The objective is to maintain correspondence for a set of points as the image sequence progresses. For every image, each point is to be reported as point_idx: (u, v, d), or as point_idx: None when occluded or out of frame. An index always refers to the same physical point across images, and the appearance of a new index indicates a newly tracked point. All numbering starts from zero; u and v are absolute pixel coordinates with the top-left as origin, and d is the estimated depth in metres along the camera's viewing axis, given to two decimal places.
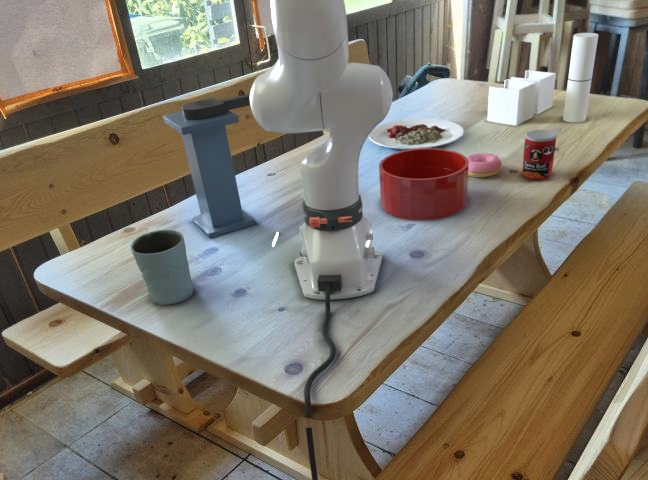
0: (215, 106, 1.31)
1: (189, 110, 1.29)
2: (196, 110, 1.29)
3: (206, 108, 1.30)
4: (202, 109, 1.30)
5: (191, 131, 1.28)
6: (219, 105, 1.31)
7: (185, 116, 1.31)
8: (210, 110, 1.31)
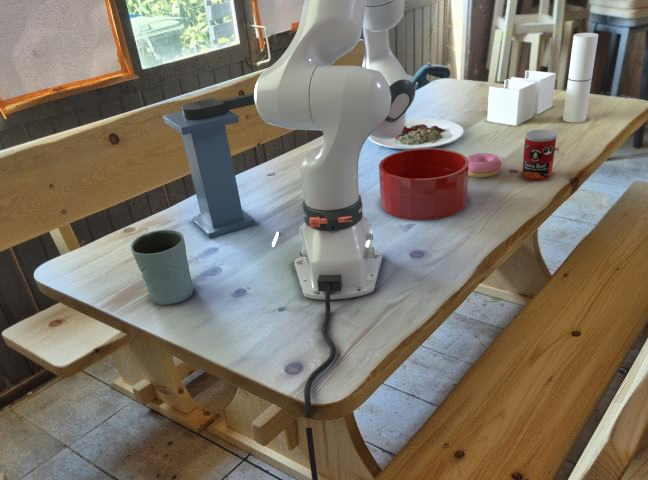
0: (215, 106, 1.31)
1: (189, 110, 1.29)
2: (196, 110, 1.29)
3: (206, 108, 1.30)
4: (202, 109, 1.30)
5: (191, 131, 1.28)
6: (219, 105, 1.31)
7: (185, 116, 1.31)
8: (210, 110, 1.31)
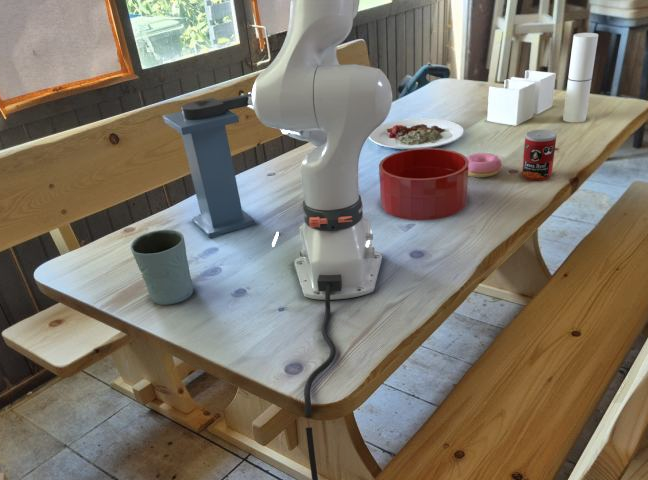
0: (215, 106, 1.31)
1: (189, 110, 1.30)
2: (196, 110, 1.29)
3: (206, 108, 1.30)
4: (202, 109, 1.30)
5: (191, 131, 1.28)
6: (219, 105, 1.31)
7: (185, 116, 1.31)
8: (209, 110, 1.31)
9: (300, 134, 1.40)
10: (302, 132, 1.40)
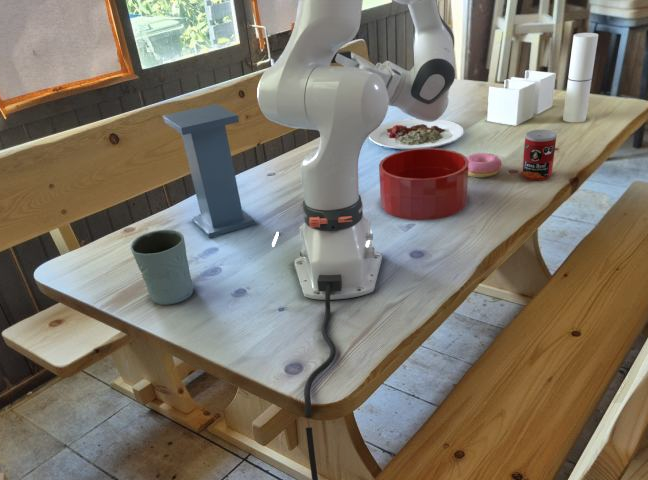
0: None
1: (275, 60, 1.34)
2: None
3: None
4: None
5: (191, 131, 1.28)
6: None
7: None
8: None
9: None
10: None
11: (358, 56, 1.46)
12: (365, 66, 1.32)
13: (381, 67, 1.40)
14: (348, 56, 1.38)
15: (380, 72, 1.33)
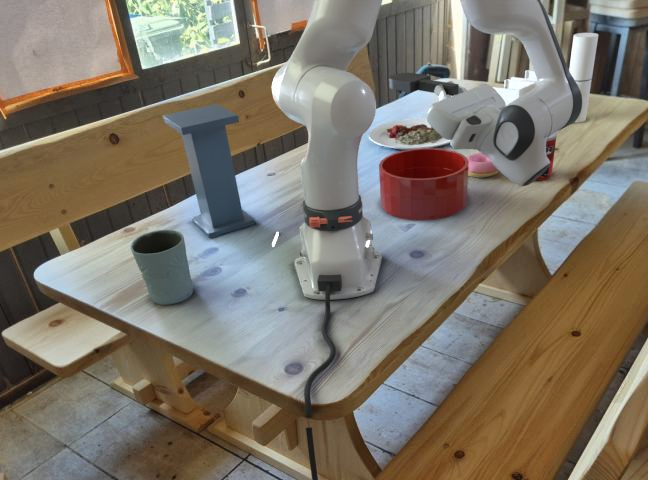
0: (403, 82, 1.34)
1: (389, 78, 1.38)
2: (390, 79, 1.36)
3: (396, 81, 1.35)
4: (393, 80, 1.36)
5: (191, 131, 1.28)
6: (406, 82, 1.33)
7: None
8: (398, 84, 1.35)
9: None
10: (451, 140, 1.25)
11: (485, 92, 1.31)
12: (432, 105, 1.23)
13: (475, 109, 1.25)
14: (450, 90, 1.29)
15: (443, 115, 1.22)
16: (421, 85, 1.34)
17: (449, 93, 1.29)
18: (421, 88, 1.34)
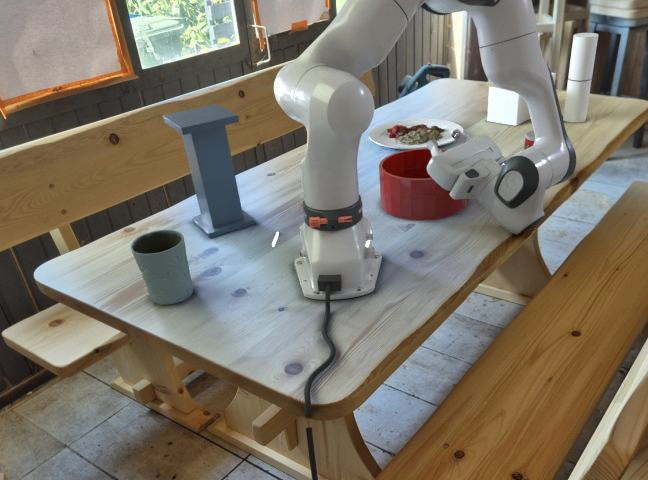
0: None
1: None
2: None
3: None
4: None
5: (191, 131, 1.28)
6: None
7: None
8: None
9: None
10: None
11: (483, 143, 1.38)
12: (432, 158, 1.30)
13: (473, 162, 1.32)
14: None
15: (443, 169, 1.29)
16: None
17: None
18: None
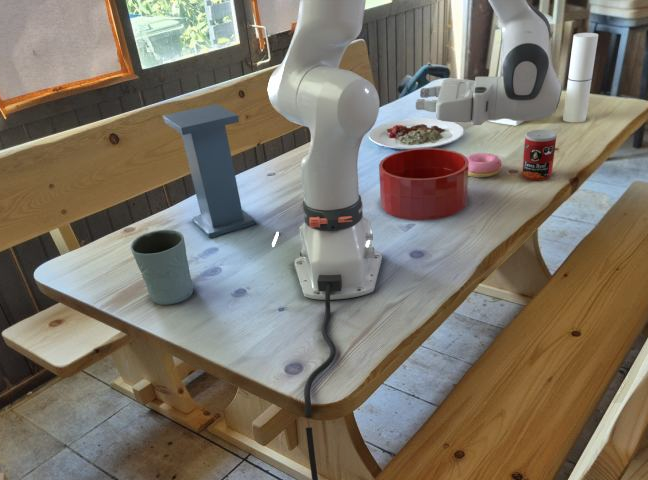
0: None
1: None
2: None
3: None
4: None
5: (191, 131, 1.28)
6: None
7: None
8: None
9: (471, 122, 1.25)
10: (472, 120, 1.25)
11: (451, 82, 1.35)
12: (438, 103, 1.23)
13: (467, 88, 1.27)
14: None
15: (456, 101, 1.22)
16: None
17: None
18: None
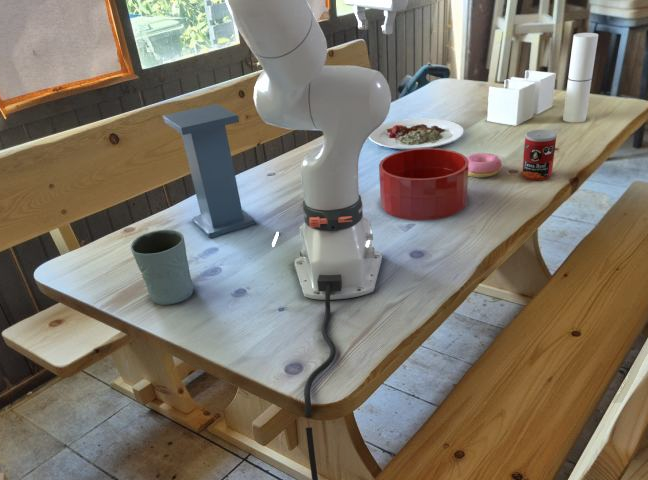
0: None
1: None
2: None
3: None
4: None
5: (191, 131, 1.28)
6: None
7: None
8: None
9: None
10: None
11: None
12: (393, 8, 1.19)
13: None
14: None
15: None
16: None
17: None
18: None
